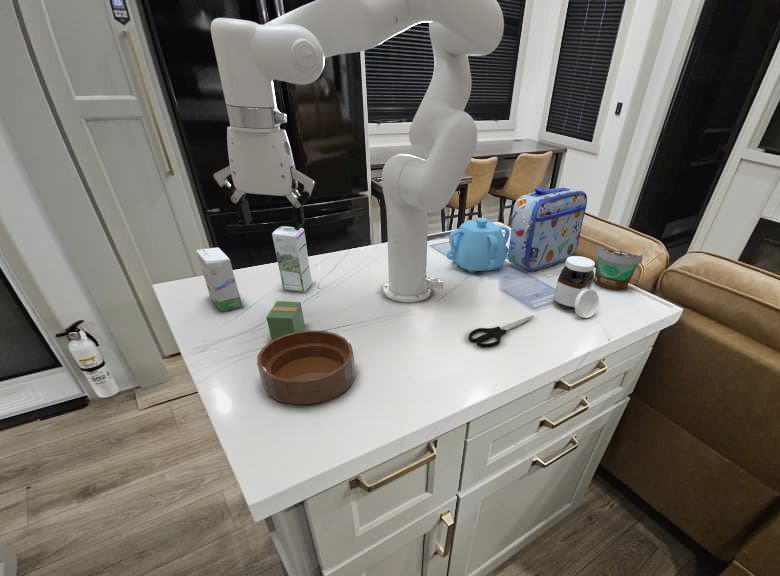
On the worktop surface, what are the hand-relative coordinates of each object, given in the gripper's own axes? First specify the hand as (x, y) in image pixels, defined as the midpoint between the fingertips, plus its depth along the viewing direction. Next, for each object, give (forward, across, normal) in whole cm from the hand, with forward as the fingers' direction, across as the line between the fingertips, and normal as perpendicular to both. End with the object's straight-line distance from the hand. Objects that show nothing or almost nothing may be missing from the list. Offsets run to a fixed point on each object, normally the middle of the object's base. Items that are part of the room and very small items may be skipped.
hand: (273, 225), depth 78 cm
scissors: (+21, -48, -3) cm, 52 cm away
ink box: (+22, +18, -9) cm, 30 cm away
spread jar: (+21, -67, -17) cm, 72 cm away
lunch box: (+20, -63, -47) cm, 81 cm away
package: (+22, -1, +4) cm, 22 cm away
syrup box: (+22, +4, -19) cm, 29 cm away
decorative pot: (+21, -43, -41) cm, 63 cm away
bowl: (+22, -9, +18) cm, 30 cm away
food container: (+20, -81, -31) cm, 89 cm away
